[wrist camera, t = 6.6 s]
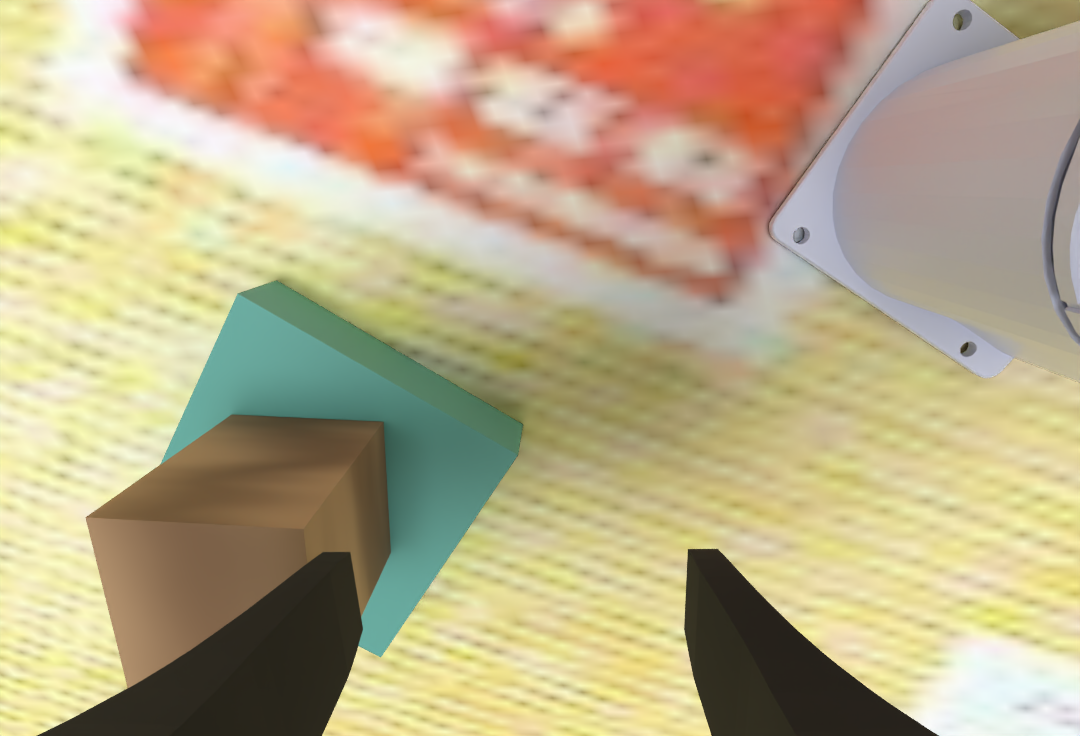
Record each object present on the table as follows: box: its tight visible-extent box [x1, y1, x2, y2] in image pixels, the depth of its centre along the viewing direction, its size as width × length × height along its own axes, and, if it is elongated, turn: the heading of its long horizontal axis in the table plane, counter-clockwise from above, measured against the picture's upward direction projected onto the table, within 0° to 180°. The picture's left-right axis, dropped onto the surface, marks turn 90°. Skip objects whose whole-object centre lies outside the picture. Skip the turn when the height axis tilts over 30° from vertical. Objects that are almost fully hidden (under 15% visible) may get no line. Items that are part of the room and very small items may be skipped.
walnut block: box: [86, 415, 391, 688], centre depth 17 cm, size 5×5×6 cm
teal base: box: [160, 281, 523, 657], centre depth 21 cm, size 10×10×3 cm
